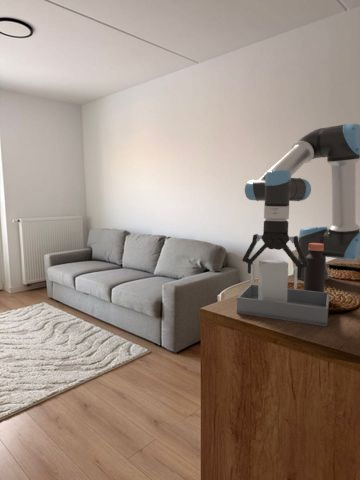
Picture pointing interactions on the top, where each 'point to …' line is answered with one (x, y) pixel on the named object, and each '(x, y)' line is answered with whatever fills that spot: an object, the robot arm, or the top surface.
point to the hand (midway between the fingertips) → (273, 285)
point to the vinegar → (315, 268)
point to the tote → (287, 306)
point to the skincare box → (273, 280)
